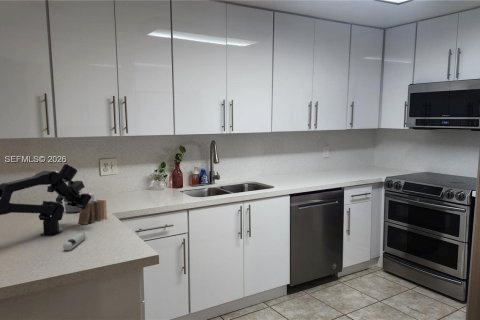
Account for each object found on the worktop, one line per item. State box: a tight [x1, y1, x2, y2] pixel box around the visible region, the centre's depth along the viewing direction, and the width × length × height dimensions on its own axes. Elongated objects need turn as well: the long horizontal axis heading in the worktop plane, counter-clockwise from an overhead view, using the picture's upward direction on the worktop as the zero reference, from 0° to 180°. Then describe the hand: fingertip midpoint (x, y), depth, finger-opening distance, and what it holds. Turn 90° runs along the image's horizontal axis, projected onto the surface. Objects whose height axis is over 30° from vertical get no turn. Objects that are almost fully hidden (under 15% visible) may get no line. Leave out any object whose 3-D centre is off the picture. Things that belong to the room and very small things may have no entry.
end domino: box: [96, 198, 108, 220], centre depth 188 cm, size 2×5×10 cm, turn 64°
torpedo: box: [62, 224, 87, 251], centre depth 148 cm, size 18×5×7 cm, turn 2°
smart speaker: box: [64, 189, 83, 214], centre depth 203 cm, size 10×9×14 cm
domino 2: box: [88, 202, 95, 224], centre depth 181 cm, size 2×5×10 cm, turn 64°
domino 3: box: [90, 200, 102, 222], centre depth 185 cm, size 2×5×10 cm, turn 63°
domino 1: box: [77, 204, 92, 226], centre depth 179 cm, size 2×5×10 cm, turn 64°
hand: (84, 208), depth 178 cm, fingers closed
